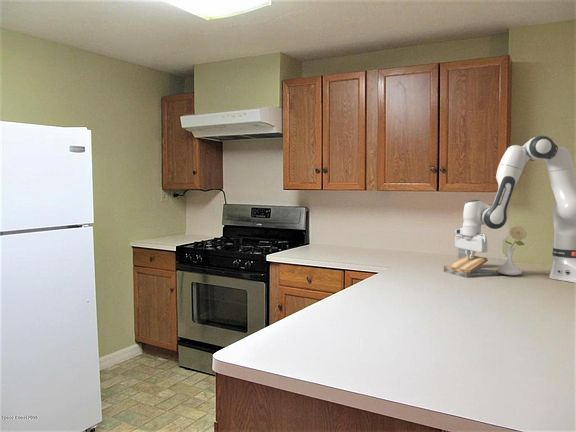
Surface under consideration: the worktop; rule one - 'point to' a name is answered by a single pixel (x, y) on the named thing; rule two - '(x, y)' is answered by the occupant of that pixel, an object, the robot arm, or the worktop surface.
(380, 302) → the worktop surface
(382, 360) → the worktop surface
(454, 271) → the underlay panel
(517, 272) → the flower in vase
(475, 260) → the light wood flat slab
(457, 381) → the worktop surface
